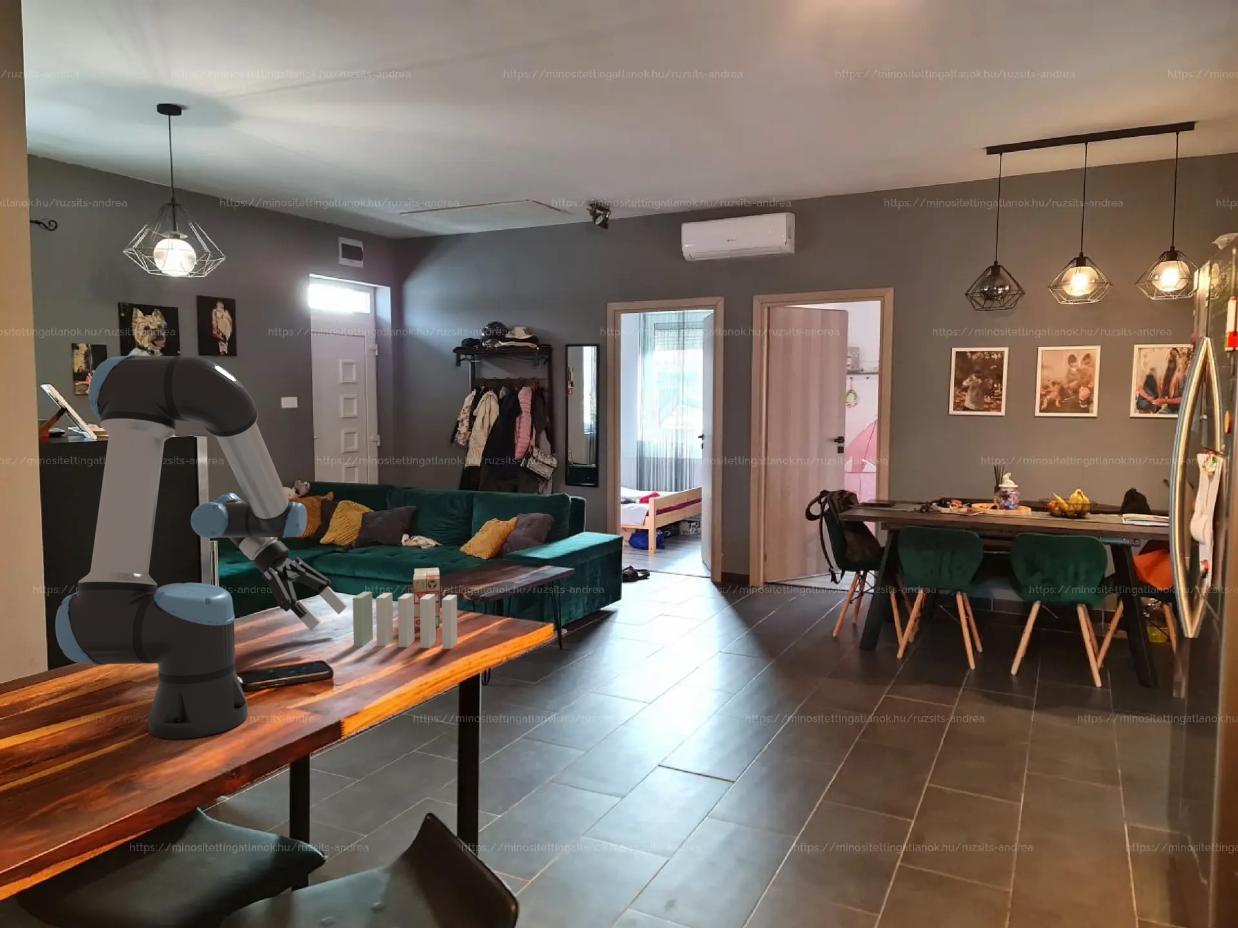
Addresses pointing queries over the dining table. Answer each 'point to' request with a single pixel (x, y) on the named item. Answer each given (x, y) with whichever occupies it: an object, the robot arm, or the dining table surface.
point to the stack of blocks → (426, 591)
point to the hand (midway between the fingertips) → (330, 617)
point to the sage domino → (362, 619)
